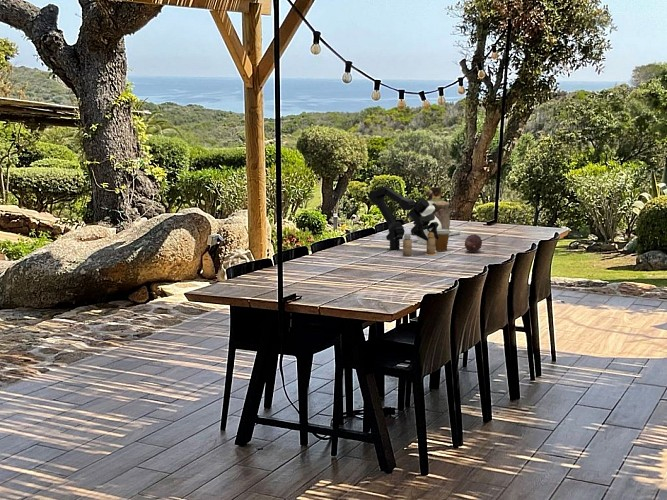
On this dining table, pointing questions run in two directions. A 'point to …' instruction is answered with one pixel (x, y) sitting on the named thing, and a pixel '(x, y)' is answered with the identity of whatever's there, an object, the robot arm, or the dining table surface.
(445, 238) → the disposable coffee cup
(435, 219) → the decorative vase
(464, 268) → the dining table surface
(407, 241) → the grey ball tube
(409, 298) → the dining table surface
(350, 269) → the dining table surface
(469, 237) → the pine cone
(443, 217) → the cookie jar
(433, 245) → the orange ball tube
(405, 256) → the card
